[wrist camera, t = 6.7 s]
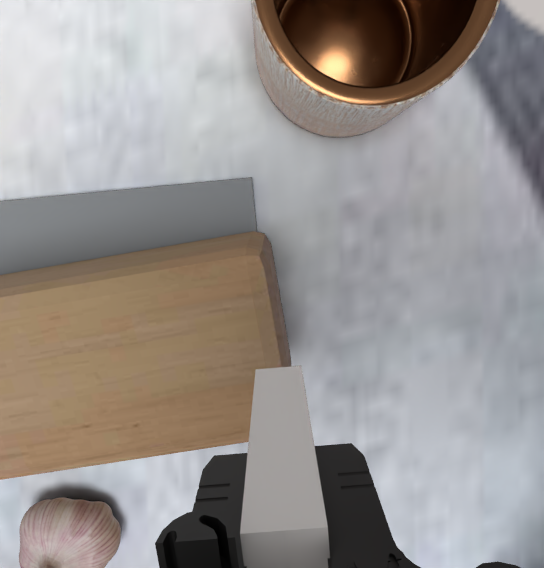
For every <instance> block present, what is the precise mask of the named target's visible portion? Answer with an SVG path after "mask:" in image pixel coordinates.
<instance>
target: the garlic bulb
mask: <svg viewBox="0 0 544 568" xmlns="http://www.w3.org/2000/svg"><path fill="white" fill-rule="evenodd" d="M120 537H121V528H120V524H119V522H118V521H117V519H116V518H115V517H114V516H113V514H112V510H111V508H110V506H109V505H108V504H106V503H105V502H101V501H94V502H92V501H87V500H82V499H77V500H73V499H69V498H65V497H61V498H55V499H45V500H42V501H40V502H38V503H36V504H34V505H33V506H32V507H30V508H29V510H28V511H27V512H26V513H25V515H24V517H23V519H22V521H21V525H20V553H19V562H20V566H21V568H104V567H105V566H106V565H107V563H108V561H110V560H111V558H112V557H113V556H114V555H115V553H116V552H117V550H118V547H119V544H120Z"/></svg>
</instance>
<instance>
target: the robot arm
mask: <svg viewBox="0 0 544 568" xmlns="http://www.w3.org/2000/svg"><path fill="white" fill-rule="evenodd" d="M155 545H156V550H157V556H158V561H159V567H160V568H420V567H419V566H417V565H415V564H414V563H412V562H411V561H410V560H409V559H407V558H406V557H405V555H404V554H403V552H402V551H400V550H399V549H398V548H397V546H396V544H395V542H394V540H393V538H392V535H391V532H390V529H389V526H388V523H387V521H386V518H385V515H384V512H383V509H382V506H381V503H380V500H379V497H378V495H377V492H376V489H375V487H374V483H373V480H372V477H371V474H370V473H369V469H368V466H367V463H366V460H365V457H364V455H363V454H362V453H361V452H360V451H359V450H358V449H357V448H356V447H355V446H354V445H352V444H351V443H350V444H337V445H325V446H314V440H313V434H312V428H311V422H310V416H309V410H308V404H307V398H306V392H305V386H304V380H303V374H302V368H301V366H291V367H279V368H267V369H256V370H255V381H254V391H253V402H252V412H251V423H250V433H249V444H248V453H242V454H230V455H217V456H214V457H213V458H212V459H211V460H210V462H209V463H208V464H207V465H206V467H205V468H204V469H203V472H202V475H201V479H200V483H199V489H198V491H197V495H196V503H194V507H193V511H192V512H189V513H186V514H184V515H182V516H181V517H179V518H177V519H175V520H173V521H172V522H171V523H170V524H169V525H168V526H167V527H166V528H165V529H164V530H163V531H162V532H161V534H160V536H159V538H158V539H157V541H156V543H155ZM476 568H520V567H518V566H516V565H511V564H506V563H502V562H491V563H482V564H481V565H479V566H478V567H476Z"/></svg>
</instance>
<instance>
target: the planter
mask: <svg viewBox="0 0 544 568" xmlns="http://www.w3.org/2000/svg"><path fill="white" fill-rule="evenodd" d="M499 2H500V0H251V5H252V17H253V31H254V45H255V55H256V62H257V67H258V71H259V74H260V77H261V80H262V82H263V85H264V87H265V89H266V91H267V93H268V95H269V96H270V98H271V99H272V101H273V102H274V104H275V105H276V106H277V107H278V109H279V110H280V111H281V112H282V113H283V114H284V115H285V116H286V117H287V118H289V119H290V120H291V121H292V122H294V123H295V124H297V125H298V126H300V127H302V128H304V129H306V130H308V131H310V132H313V133H316V134H319V135H324V136H331V137H349V136H355V135H360V134H363V133H367V132H369V131H372V130H374V129H376V128H378V127H380V126H382V125H384V124H385V123H387V122H388V121H390V120H391V119H393V118H394V117H396V116H397V115H399V114H400V113H402V112H403V111H404V110H406V109H407V108H409V107H410V106H412V105H413V104H414V103H416V102H417V101H419V100H421V99H422V98H424V97H425V96H427V95H428V94H430V93H431V92H433V91H434V90H436V89H437V88H439V87H440V86H442V85H443V84H444V83H446V82H447V81H448V80H449V79H450V78H452V77H453V76H454V75H455V74H456V73H457V72H458V71H459V70H460V69H461V68H462V67H463V66H464V65H465V64H466V63H467V61H468V60H469V59H470V58H471V57H472V55H473V54H474V53H475V51H476V50H477V48H478V47H479V45H480V44H481V42H482V41H483V39H484V37H485V36H486V34H487V32H488V30H489V28H490V26H491V24H492V21H493V19H494V17H495V14H496V11H497V9H498V6H499Z"/></svg>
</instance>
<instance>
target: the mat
mask: <svg viewBox="0 0 544 568" xmlns="http://www.w3.org/2000/svg"><path fill="white" fill-rule="evenodd" d="M252 231H255V232H257V226H256V216H255V205H254V195H253V185H252V178H241V179H231V180H220V181H210V182H199V183H188V184H178V185H167V186H157V187H146V188H136V189H125V190H114V191H104V192H93V193H83V194H72V195H61V196H51V197H40V198H30V199H19V200H9V201H0V275H4V274H10V273H15V272H21V271H27V270H33V269H38V268H44V267H50V266H56V265H62V264H67V263H73V262H79V261H85V260H90V259H96V258H102V257H108V256H113V255H119V254H125V253H131V252H137V251H142V250H148V249H154V248H160V247H165V246H171V245H177V244H183V243H189V242H194V241H200V240H206V239H212V238H217V237H223V236H229V235H235V234H241V233H246V232H252Z"/></svg>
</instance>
